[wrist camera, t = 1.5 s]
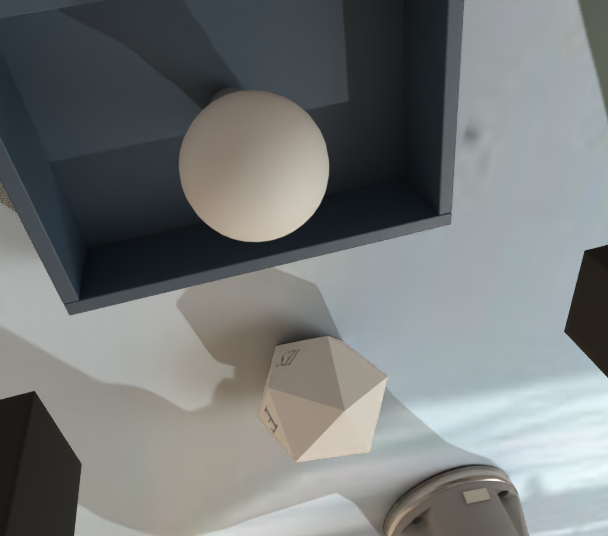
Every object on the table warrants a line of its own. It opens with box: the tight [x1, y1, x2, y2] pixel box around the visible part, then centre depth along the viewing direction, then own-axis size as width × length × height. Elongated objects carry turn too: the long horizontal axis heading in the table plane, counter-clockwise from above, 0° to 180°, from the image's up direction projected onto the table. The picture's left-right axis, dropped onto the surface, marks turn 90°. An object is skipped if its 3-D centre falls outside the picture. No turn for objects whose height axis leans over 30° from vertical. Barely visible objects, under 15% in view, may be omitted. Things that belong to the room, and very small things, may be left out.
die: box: [257, 336, 388, 462], centre depth 38 cm, size 8×9×10 cm
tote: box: [0, 0, 464, 315], centre depth 26 cm, size 15×21×6 cm
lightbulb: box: [179, 87, 329, 242], centre depth 24 cm, size 6×6×11 cm
